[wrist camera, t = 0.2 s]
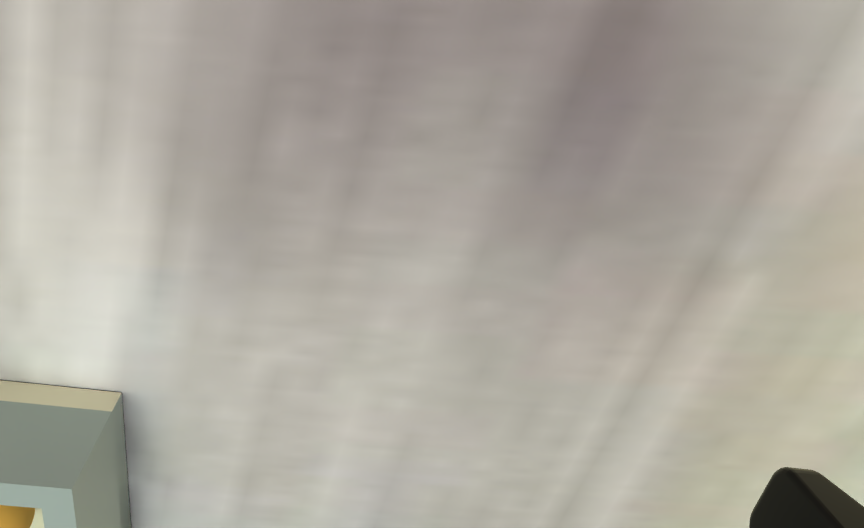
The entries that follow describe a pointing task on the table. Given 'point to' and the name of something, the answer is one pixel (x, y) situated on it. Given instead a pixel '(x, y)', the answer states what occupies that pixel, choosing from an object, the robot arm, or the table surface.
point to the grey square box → (64, 455)
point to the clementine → (16, 516)
